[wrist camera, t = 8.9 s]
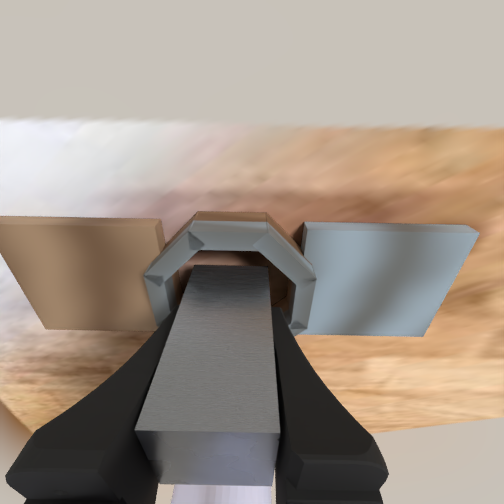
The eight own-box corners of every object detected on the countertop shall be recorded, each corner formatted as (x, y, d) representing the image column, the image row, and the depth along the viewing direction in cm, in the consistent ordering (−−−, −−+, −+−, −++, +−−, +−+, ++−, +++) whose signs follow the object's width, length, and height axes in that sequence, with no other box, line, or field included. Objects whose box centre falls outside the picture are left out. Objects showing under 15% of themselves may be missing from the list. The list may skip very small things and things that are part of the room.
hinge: (58, 323, 19) (33, 351, 16) (-6, 207, 14) (-52, 226, 12) (412, 330, 18) (432, 359, 16) (470, 216, 14) (508, 237, 12)
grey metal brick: (201, 317, 16) (159, 484, 9) (194, 264, 14) (134, 429, 7) (264, 318, 16) (271, 486, 9) (267, 266, 14) (280, 432, 7)
